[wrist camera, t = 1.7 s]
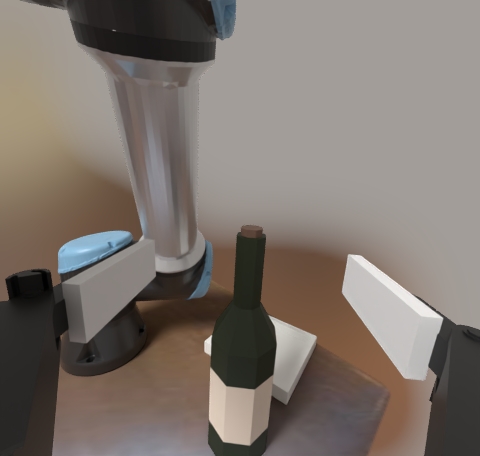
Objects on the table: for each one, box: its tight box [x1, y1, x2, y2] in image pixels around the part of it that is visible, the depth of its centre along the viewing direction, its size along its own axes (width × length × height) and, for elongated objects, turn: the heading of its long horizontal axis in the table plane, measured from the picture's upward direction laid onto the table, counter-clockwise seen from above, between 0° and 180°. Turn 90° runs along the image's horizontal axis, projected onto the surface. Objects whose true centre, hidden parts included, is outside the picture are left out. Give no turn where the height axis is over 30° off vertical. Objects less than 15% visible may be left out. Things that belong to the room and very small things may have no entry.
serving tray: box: [204, 315, 317, 405], centre depth 47 cm, size 18×16×2 cm
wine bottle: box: [208, 225, 277, 456], centre depth 28 cm, size 8×8×30 cm
